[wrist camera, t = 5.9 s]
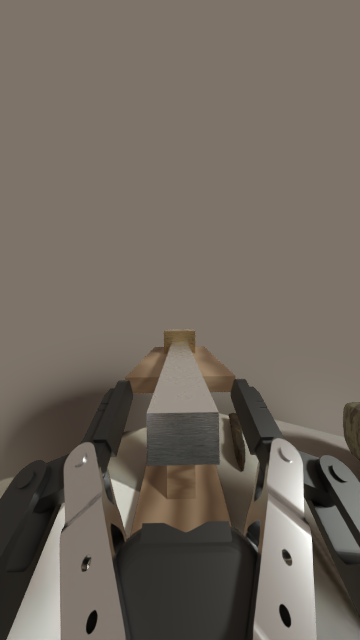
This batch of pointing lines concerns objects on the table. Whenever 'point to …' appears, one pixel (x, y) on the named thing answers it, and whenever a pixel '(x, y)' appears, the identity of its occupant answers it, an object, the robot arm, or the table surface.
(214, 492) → the stand
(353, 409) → the tabletop clock
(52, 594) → the table surface
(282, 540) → the robot arm
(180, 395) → the bar
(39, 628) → the table surface
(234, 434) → the hand tool
